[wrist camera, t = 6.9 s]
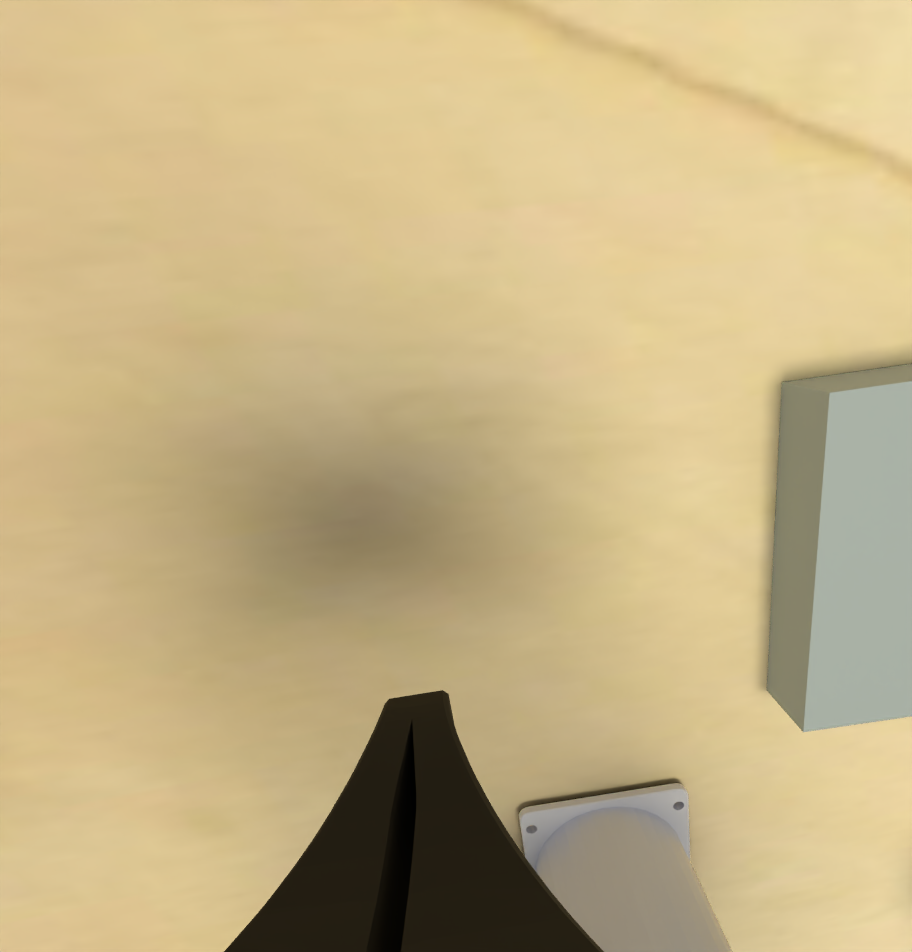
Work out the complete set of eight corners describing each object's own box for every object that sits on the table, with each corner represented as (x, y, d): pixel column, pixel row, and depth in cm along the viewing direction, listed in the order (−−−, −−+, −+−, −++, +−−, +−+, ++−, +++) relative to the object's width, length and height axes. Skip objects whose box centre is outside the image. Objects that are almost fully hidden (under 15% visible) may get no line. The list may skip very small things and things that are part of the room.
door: (953, 655, 25) (1024, 703, 22) (760, 683, 25) (805, 734, 22) (1006, 347, 21) (1104, 354, 18) (774, 380, 21) (832, 393, 18)
